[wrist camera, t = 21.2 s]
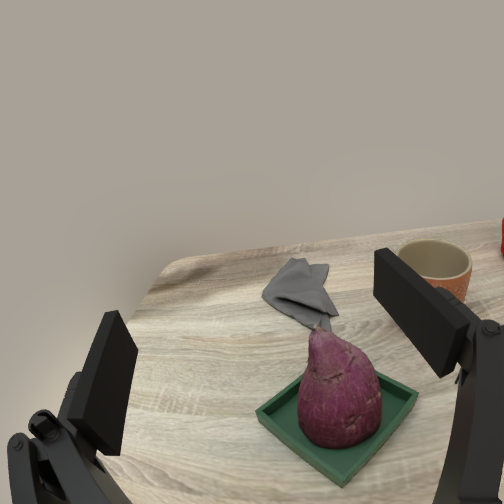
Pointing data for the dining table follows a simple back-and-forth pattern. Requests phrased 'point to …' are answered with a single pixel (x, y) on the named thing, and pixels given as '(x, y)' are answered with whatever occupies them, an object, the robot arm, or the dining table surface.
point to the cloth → (301, 293)
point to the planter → (439, 263)
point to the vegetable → (338, 393)
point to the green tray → (336, 460)
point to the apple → (503, 245)
